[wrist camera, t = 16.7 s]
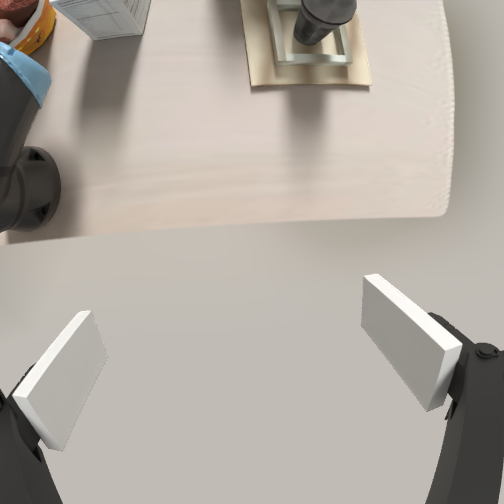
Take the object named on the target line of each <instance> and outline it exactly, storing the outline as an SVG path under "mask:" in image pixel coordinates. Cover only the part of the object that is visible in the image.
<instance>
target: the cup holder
mask: <svg viewBox="0 0 504 504" xmlns="http://www.w3.org/2000/svg"><path fill="white" fill-rule="evenodd" d="M240 5H241V12H242V19H243V27H244V34H245V42H246V49H247V57H248V65H249V73H250V81H251V87H256V86H271V85H294V84H337V85H360V86H371V85H372V82H371V76H370V70H369V65H368V60H367V55H366V50H365V45H364V40H363V36H362V32H361V27H360V23H359V19H358V15H357V11H355V13H354V16H353V18H352V20H350V21H349V22H348V23H346V24H343V25H341V26H339V27H337V28H336V29H334V30H333V31H332V32H331V33H330V34H328V35H327V36H326V37H325V38H323V39H322V40H321V41H320V42H318V43H317V44H315V45H312V46H307V45H303V44H301V43H299V42H298V41H297V40H296V39H295V37H294V34H293V31H294V26H295V22H296V19H297V16H298V13H299V10H300V7H301V0H240Z"/></svg>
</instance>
